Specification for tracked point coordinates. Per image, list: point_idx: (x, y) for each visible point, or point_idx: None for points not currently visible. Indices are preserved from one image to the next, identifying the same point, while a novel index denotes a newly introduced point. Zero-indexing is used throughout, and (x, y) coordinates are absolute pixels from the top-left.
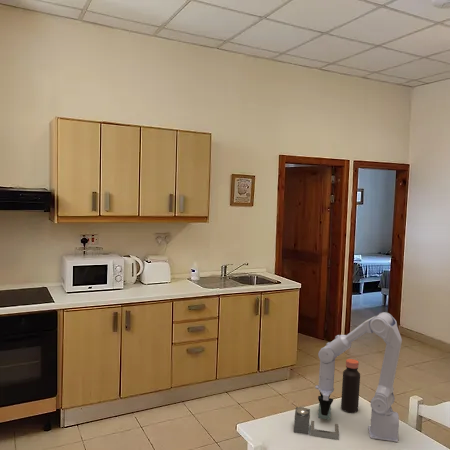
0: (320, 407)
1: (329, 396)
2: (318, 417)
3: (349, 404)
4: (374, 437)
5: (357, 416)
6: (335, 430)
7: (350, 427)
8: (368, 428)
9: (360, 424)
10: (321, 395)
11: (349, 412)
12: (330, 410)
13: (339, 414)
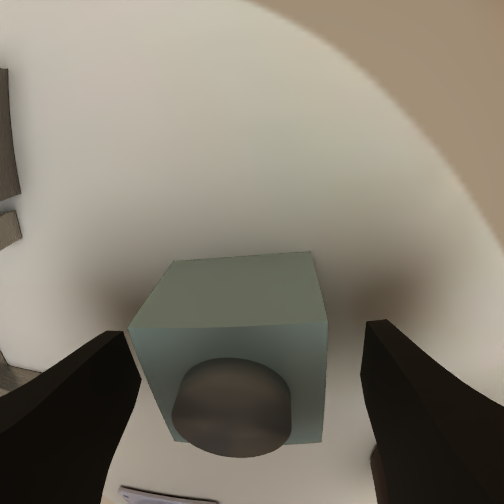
0: (171, 347)
1: (389, 500)
2: (170, 265)
3: (381, 502)
4: (123, 497)
5: (331, 479)
6: (2, 389)
7: (163, 453)
8: (192, 502)
9: (232, 486)
10: (427, 428)
11: (374, 453)
12: (175, 433)
13: (332, 415)
